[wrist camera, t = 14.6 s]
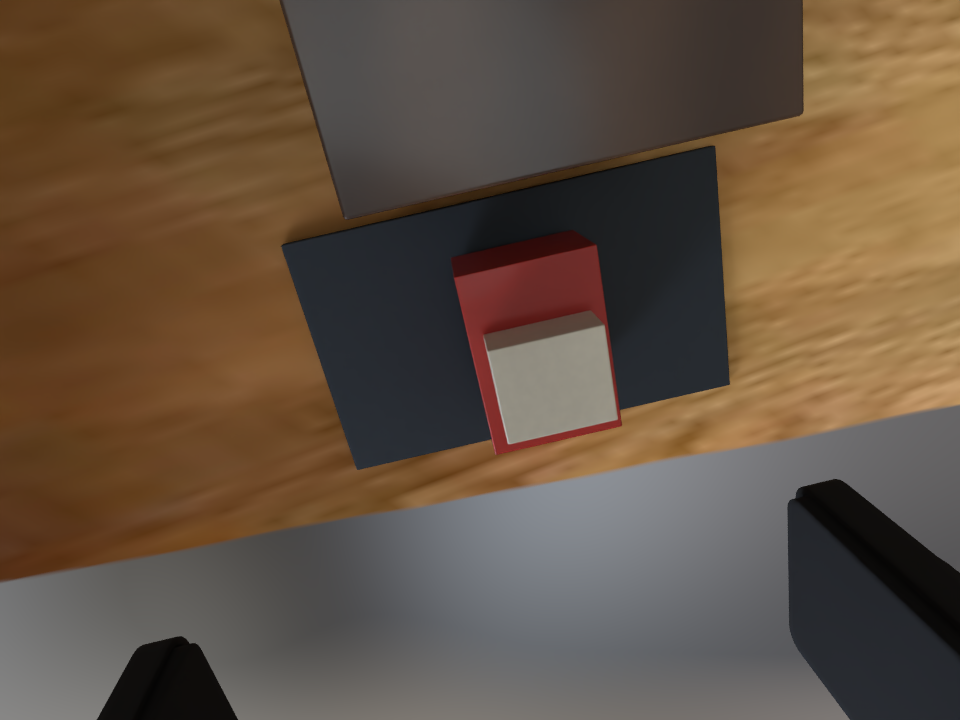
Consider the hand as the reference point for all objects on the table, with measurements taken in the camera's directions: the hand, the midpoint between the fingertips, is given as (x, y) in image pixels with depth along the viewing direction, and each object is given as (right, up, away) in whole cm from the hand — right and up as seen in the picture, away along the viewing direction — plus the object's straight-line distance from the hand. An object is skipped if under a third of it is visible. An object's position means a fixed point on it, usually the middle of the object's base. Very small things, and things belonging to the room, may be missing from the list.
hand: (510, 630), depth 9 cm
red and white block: (+2, +6, +19) cm, 20 cm away
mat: (+2, +6, +20) cm, 21 cm away
